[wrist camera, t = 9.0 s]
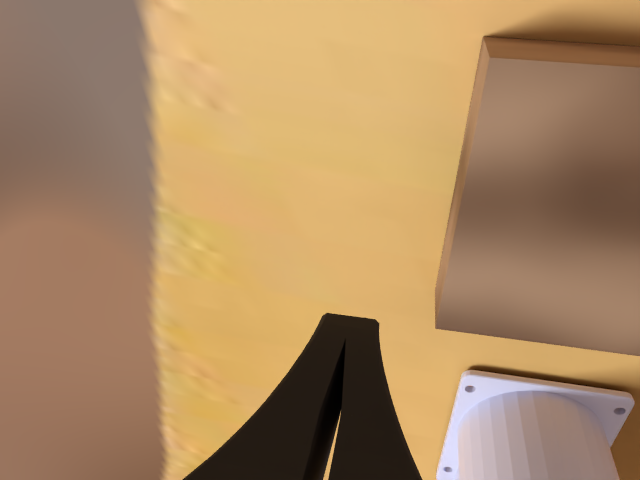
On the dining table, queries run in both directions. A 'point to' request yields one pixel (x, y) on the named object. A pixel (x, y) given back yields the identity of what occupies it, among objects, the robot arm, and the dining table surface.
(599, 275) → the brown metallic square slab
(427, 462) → the dining table surface
